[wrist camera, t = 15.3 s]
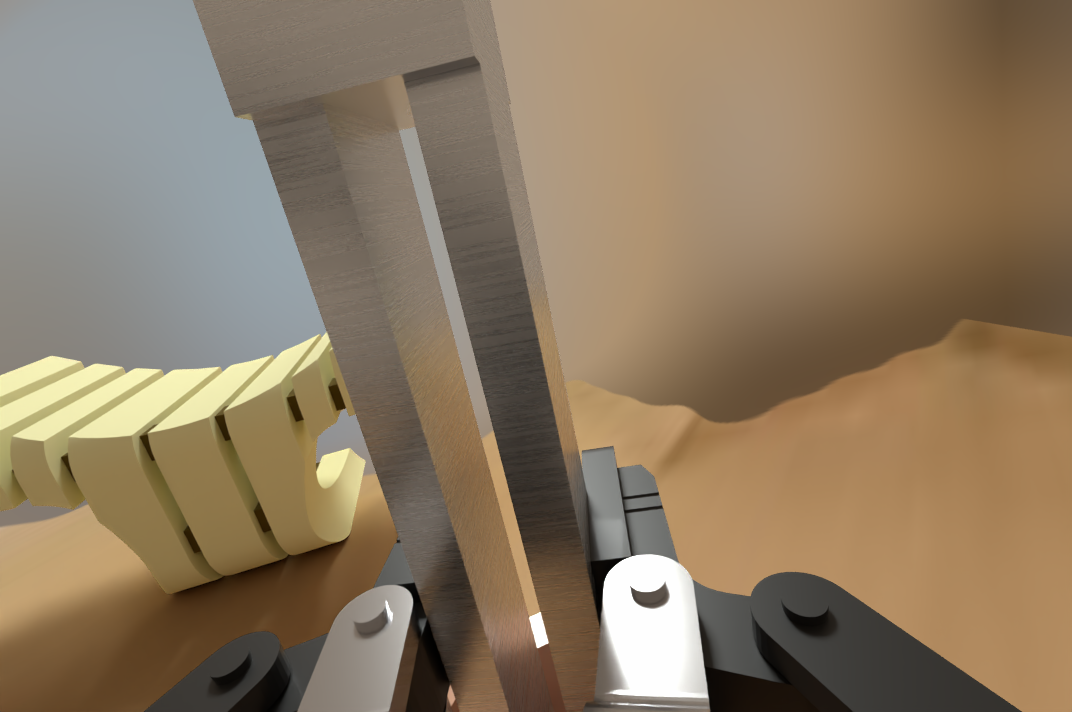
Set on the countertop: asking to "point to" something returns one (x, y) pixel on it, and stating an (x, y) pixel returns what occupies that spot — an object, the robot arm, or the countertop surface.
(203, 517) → the slatted curved stool
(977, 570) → the countertop surface
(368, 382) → the tongs
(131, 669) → the countertop surface
